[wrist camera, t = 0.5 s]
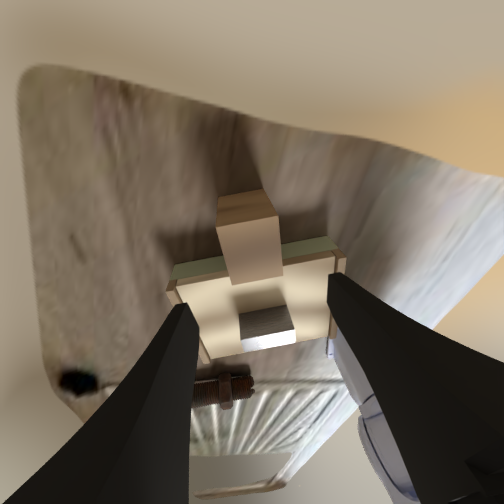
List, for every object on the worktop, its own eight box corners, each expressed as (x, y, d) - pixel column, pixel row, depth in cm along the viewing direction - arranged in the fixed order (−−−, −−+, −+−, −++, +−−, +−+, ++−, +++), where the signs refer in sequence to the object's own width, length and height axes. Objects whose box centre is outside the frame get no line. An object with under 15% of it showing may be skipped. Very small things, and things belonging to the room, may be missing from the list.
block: (269, 237, 21) (283, 275, 16) (230, 245, 21) (231, 285, 16) (263, 188, 18) (278, 215, 13) (218, 196, 18) (215, 227, 13)
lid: (324, 329, 26) (339, 360, 22) (211, 351, 26) (209, 385, 22) (330, 250, 19) (352, 278, 16) (177, 279, 19) (167, 313, 16)
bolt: (250, 364, 37) (163, 378, 35) (252, 365, 32) (152, 381, 31) (255, 404, 34) (161, 421, 33) (257, 411, 30) (149, 431, 28)
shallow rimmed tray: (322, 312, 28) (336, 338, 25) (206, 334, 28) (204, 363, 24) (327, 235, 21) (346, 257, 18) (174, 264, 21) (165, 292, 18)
